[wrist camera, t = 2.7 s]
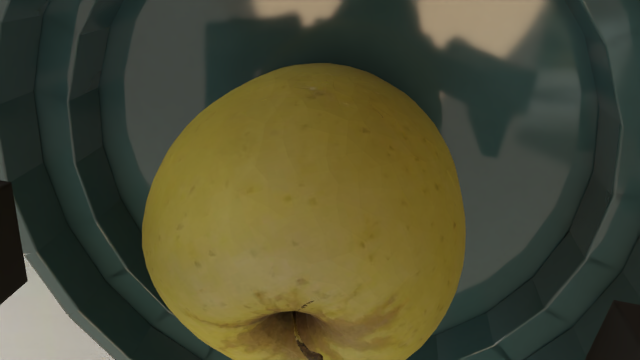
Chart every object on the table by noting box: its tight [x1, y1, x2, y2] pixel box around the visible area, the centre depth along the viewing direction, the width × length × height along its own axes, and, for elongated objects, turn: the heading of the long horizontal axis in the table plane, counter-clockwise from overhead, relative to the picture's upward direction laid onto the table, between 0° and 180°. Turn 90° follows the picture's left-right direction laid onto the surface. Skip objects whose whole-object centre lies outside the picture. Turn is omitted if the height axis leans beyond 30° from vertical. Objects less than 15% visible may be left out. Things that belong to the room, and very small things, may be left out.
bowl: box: [0, 0, 640, 360], centre depth 16 cm, size 20×20×4 cm
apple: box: [142, 63, 466, 360], centre depth 13 cm, size 8×8×10 cm
